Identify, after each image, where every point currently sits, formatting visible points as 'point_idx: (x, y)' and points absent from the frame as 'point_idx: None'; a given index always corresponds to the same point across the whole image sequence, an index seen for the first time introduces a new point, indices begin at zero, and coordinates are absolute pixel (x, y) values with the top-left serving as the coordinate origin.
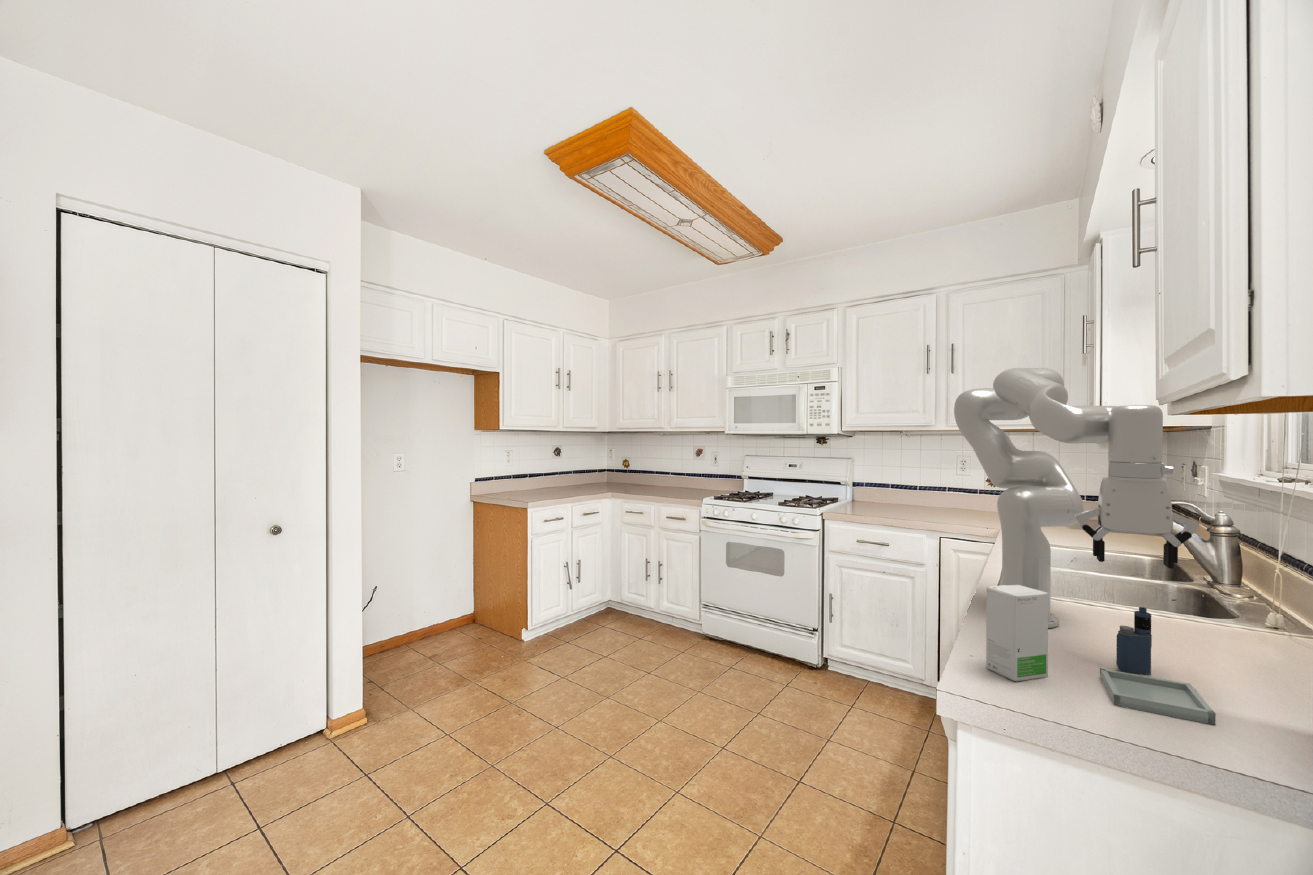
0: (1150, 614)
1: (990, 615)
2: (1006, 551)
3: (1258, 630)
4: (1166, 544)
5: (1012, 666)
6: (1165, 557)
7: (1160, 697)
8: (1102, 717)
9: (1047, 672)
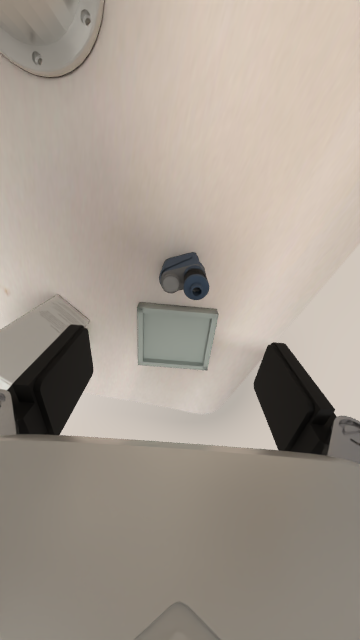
0: (206, 294)
1: None
2: None
3: None
4: (306, 427)
5: None
6: (273, 382)
7: (180, 341)
8: (127, 380)
9: (87, 323)
